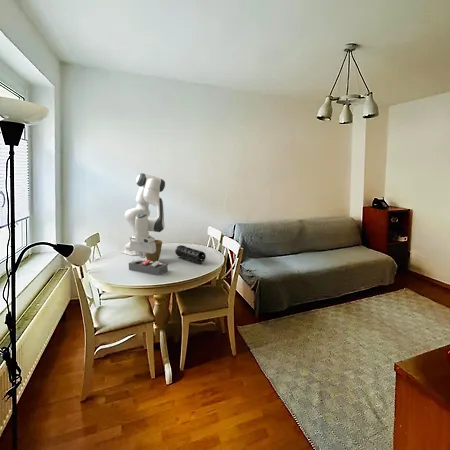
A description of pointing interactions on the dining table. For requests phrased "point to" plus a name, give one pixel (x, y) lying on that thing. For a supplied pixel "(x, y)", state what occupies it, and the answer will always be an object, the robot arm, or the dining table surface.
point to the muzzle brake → (190, 254)
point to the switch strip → (148, 267)
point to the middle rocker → (146, 262)
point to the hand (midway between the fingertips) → (142, 257)
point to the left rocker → (137, 261)
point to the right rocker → (155, 264)
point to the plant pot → (156, 255)
